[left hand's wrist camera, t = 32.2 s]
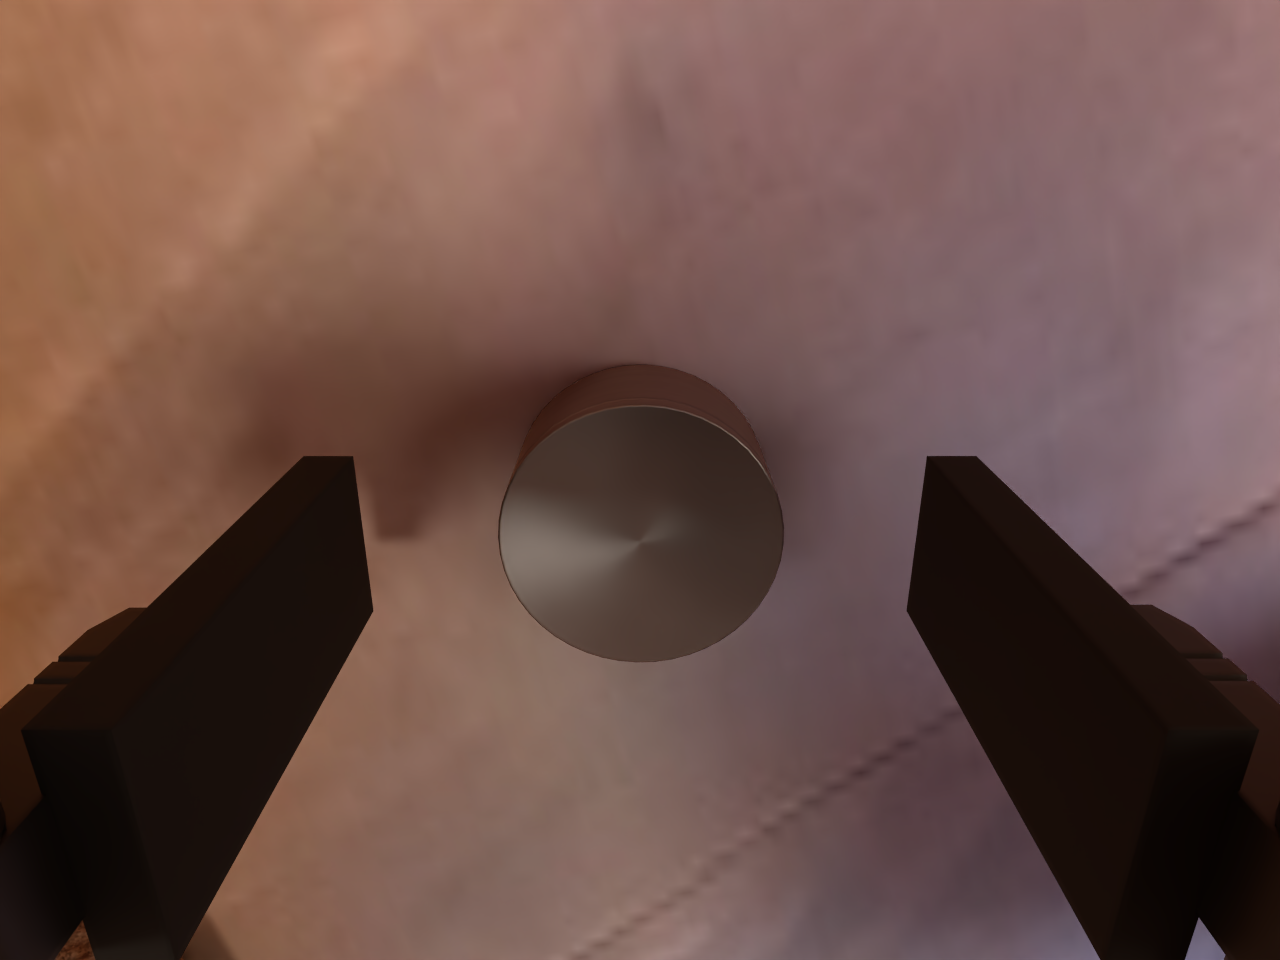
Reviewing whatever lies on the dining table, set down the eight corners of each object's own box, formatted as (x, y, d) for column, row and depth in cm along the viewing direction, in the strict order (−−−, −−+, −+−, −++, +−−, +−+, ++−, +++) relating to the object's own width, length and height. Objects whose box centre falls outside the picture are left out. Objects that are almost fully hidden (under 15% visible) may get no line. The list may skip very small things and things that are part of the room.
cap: (574, 322, 14) (562, 356, 12) (807, 424, 15) (836, 474, 13) (482, 539, 16) (458, 604, 14) (698, 623, 17) (707, 699, 14)
